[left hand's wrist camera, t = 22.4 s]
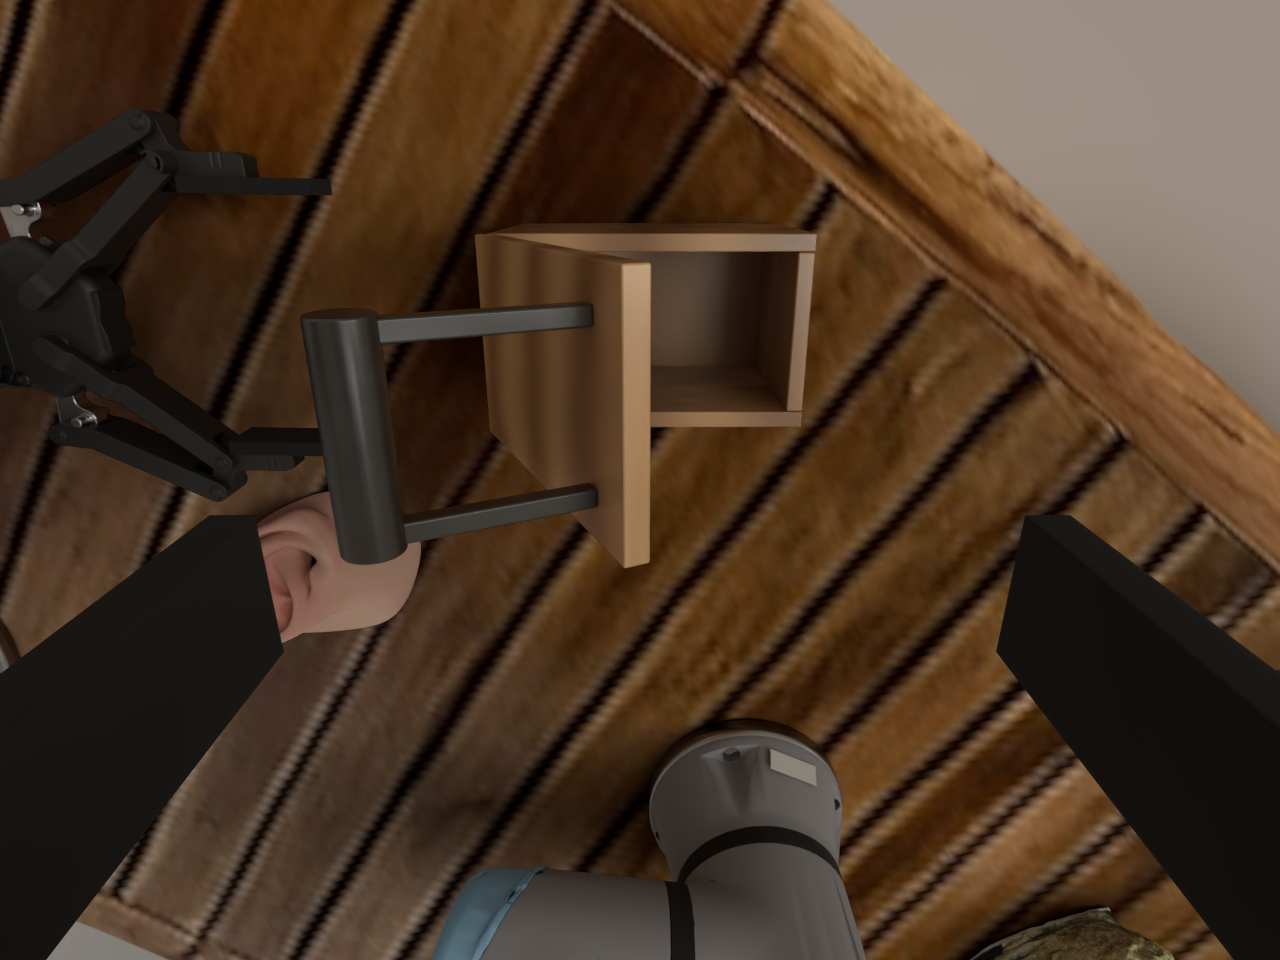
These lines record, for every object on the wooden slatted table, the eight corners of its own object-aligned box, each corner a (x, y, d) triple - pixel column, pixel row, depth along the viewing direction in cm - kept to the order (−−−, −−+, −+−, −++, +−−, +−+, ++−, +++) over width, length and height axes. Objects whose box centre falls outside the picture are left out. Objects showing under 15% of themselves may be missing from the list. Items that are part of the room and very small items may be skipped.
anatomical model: (402, 521, 46) (408, 673, 50) (420, 497, 50) (424, 640, 54) (188, 506, 46) (213, 659, 50) (222, 482, 49) (242, 627, 54)
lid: (652, 262, 20) (295, 278, 16) (650, 563, 23) (355, 632, 20) (494, 233, 33) (277, 239, 29) (508, 429, 36) (314, 455, 33)
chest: (774, 223, 44) (817, 233, 33) (765, 375, 47) (800, 427, 37) (522, 223, 44) (486, 233, 33) (531, 375, 47) (500, 427, 37)
